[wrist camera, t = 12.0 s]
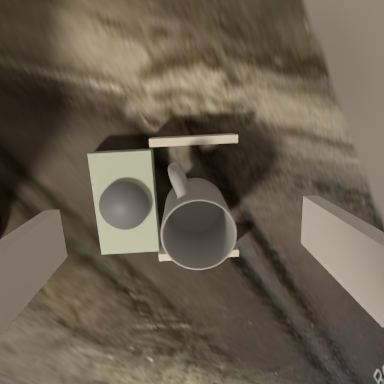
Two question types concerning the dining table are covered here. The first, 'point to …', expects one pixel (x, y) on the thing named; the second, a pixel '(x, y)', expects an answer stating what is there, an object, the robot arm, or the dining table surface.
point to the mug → (196, 222)
